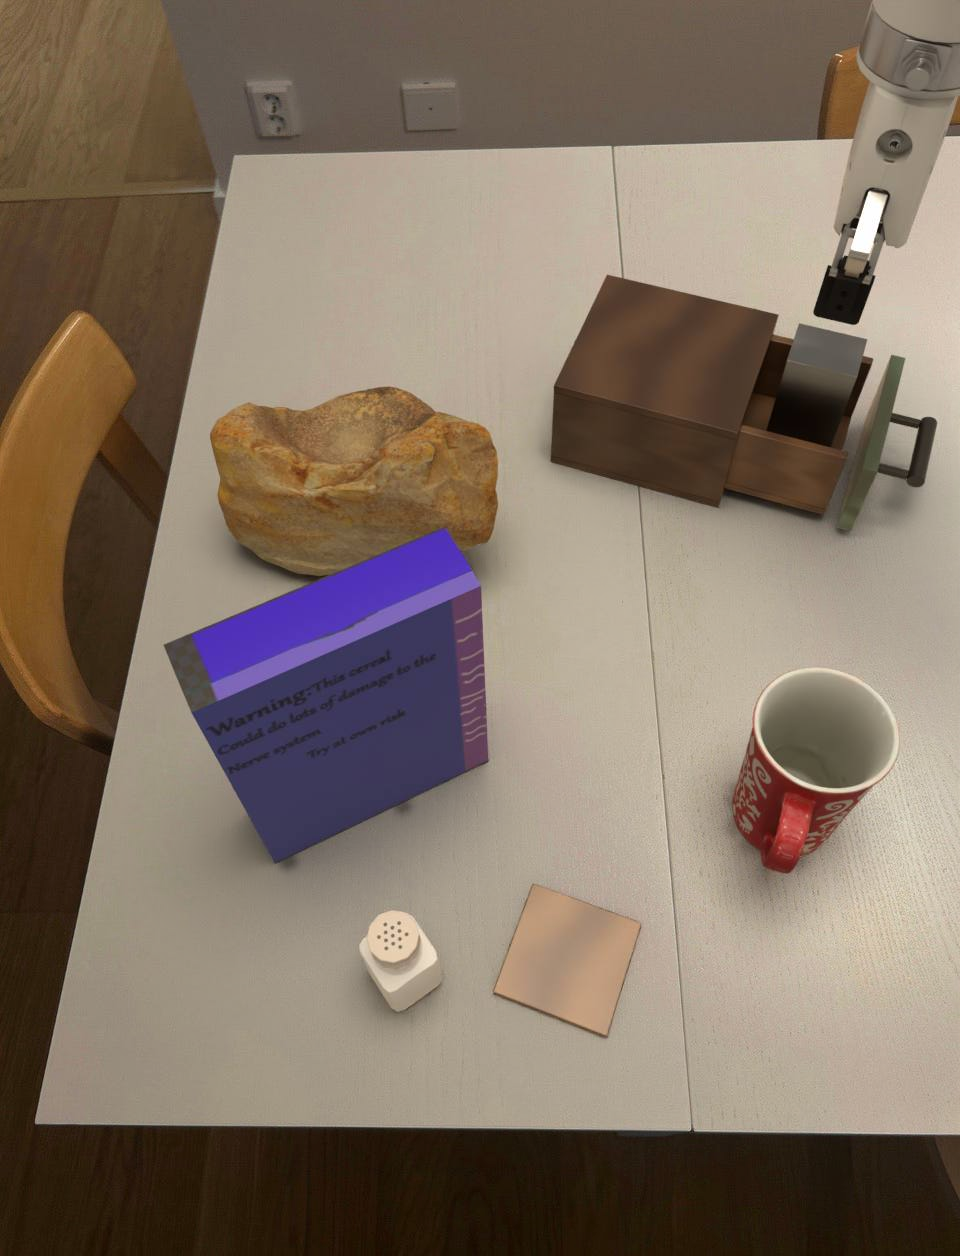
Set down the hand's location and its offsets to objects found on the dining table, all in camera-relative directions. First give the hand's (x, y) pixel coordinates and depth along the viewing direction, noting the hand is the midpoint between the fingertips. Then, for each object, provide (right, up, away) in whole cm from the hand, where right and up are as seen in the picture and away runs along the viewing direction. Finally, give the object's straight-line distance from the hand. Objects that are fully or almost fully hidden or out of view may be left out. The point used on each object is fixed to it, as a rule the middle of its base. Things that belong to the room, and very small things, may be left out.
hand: (848, 273), depth 77 cm
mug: (-5, -41, 0) cm, 41 cm away
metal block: (+1, -10, +17) cm, 19 cm away
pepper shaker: (-32, -50, -5) cm, 59 cm away
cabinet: (-11, -7, +21) cm, 25 cm away
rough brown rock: (-36, -16, +17) cm, 42 cm away
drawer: (+2, -11, +17) cm, 21 cm away
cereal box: (-35, -38, +3) cm, 52 cm away
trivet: (-21, -48, -4) cm, 53 cm away
